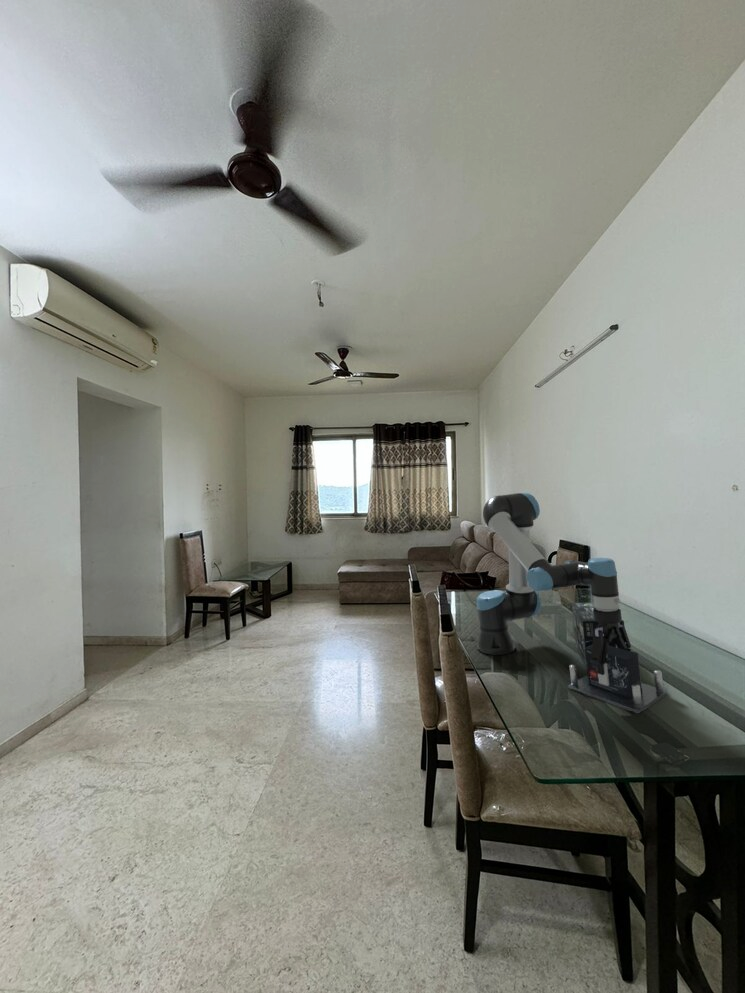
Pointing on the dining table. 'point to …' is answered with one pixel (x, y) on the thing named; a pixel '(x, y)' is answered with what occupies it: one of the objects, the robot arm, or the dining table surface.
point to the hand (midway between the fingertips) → (614, 677)
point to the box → (584, 628)
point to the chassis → (635, 704)
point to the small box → (616, 671)
